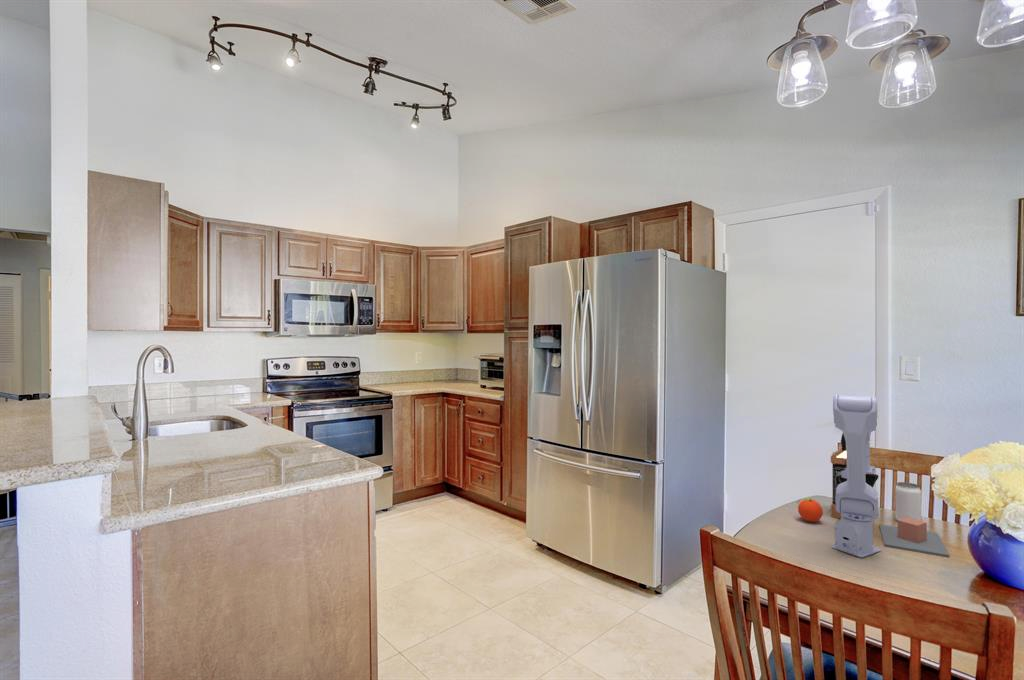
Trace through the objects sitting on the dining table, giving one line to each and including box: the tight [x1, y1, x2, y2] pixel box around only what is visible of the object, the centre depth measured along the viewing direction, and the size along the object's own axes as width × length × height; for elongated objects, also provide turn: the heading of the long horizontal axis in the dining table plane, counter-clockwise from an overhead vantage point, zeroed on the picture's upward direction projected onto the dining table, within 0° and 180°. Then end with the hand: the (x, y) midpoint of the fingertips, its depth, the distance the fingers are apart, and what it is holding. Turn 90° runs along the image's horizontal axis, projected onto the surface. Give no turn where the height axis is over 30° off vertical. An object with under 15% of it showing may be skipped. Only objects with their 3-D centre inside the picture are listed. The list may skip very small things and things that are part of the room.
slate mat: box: [879, 523, 950, 558], centre depth 145 cm, size 18×14×1 cm
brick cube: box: [897, 517, 928, 543], centre depth 145 cm, size 5×5×5 cm
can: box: [894, 481, 923, 522], centre depth 159 cm, size 6×6×12 cm
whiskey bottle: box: [830, 433, 847, 519], centre depth 166 cm, size 10×10×32 cm
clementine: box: [796, 498, 824, 523], centre depth 162 cm, size 8×7×7 cm
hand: (858, 498), depth 154 cm, fingers open, 7 cm apart
